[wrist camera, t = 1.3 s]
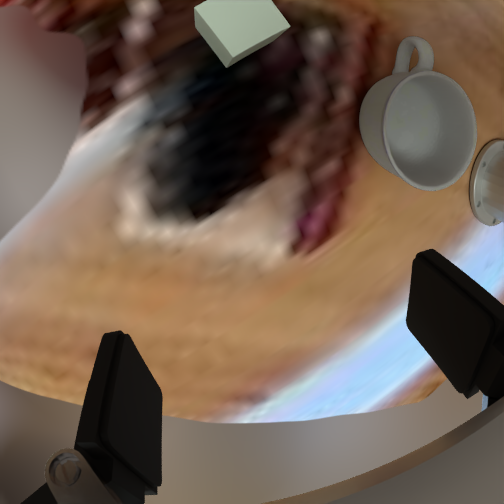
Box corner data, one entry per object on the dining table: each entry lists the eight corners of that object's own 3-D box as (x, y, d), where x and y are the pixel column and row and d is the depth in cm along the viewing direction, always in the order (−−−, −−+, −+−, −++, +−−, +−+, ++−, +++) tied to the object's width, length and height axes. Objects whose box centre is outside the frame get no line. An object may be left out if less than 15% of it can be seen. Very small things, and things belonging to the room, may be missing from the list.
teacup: (422, 175, 32) (468, 195, 24) (340, 168, 30) (380, 189, 23) (430, 59, 26) (480, 57, 18) (346, 35, 24) (390, 19, 17)
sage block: (242, 1, 21) (252, -23, 16) (272, 41, 24) (290, 26, 18) (195, 27, 22) (194, 7, 17) (226, 68, 24) (233, 57, 19)
